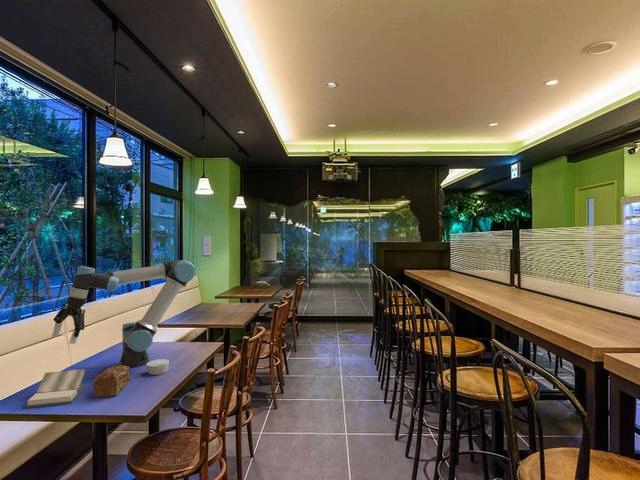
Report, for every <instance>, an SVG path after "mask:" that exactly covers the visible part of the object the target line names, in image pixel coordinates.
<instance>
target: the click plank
mask: <svg viewBox="0 0 640 480" xmlns="http://www.w3.org/2000/svg"><path fill="white" fill-rule="evenodd" d="M85 373H86V372H85V369H74V370H73V369H71V370H60V371H49V372H48V371H47V372H45V373H44V375H43V377H42V379H41V382H40V384H39V386H38V388H37V390H36V393H45V392H55V391H65V390H75V389H77V392H78V391H79V388H80V385H82V381H83V380H84V377H85V375H86V374H85ZM36 393H35V394H36Z"/></svg>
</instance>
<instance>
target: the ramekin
mask: <svg viewBox="0 0 640 480" xmlns="http://www.w3.org/2000/svg"><path fill="white" fill-rule="evenodd" d="M169 365H170V360H169V359H166V358H163V359H162V358H161V359H158V358H157V359H154V360H153V359H152V360H149V362H148V363H147V364H145V367H146V371H147V373H148V374H149V375H151V376H157V375H158V376H159V375H163V374H165V373H167V372H168V370H169Z"/></svg>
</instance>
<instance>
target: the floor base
mask: <svg viewBox="0 0 640 480" xmlns="http://www.w3.org/2000/svg"><path fill="white" fill-rule="evenodd" d="M87 387H88V384H87V383H86V384H81V385H80V388H79V391H78V392H77V389H75V390H65V391H55V392H45V393H34V395H32V396H31V397H30V398H29V399H28V400H27V404H26V406H25V408H26V409H31V408H38V407H49V406H58V405H68V404H73V403H74V402H75V400H76V399H77V398H78V397H79V396H80V395H81V394H82V393H83V391H84V390H86V388H87Z"/></svg>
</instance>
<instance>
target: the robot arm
mask: <svg viewBox="0 0 640 480" xmlns="http://www.w3.org/2000/svg"><path fill="white" fill-rule="evenodd" d="M74 275H75V276H74V278H73V279H74V280H73V281H72V285H71V289H70V292H69V296H68V297H67V300H66V303H63V304H62V306H61V308H60V309H59V311H58V312H57V314H56V315H55V316H54V318H53V321H54V323H55V325H54V327H53V330H52V331H53V332H52V334H51V337H52V338H57V337H59V334H60V331H61V329H62V326H63V322H64V321H65V320H66V319H67V318H68V317H69V316H70V317H71V318H72V319H73V325H74V329H73V330H72V333H71V337H70V339H69V343H68V344H76V343H77V340H78V337H79V335H80V332H81V331H83V330H85V314H86V309H82V307H83V306H85V303H86V299H87V297H88V294H89V292H90V288H94V289H99V290H104V291H107V292H109V291H110V292H115V291H116V290H117V289H118V287H119V285H125V284H126V285H127V284H133V283H138V282H145V281H153V280H157V279H159V280H160V279H162V280H166V281H165V283H164V285H163V286H162V288H161V290H159V292H158V294H157V295H156V297H155V298H154V300H153V301H152V303H151V304H150V306H149V307H148V309H147V310H146V312H145V314H144V315H143V317H142V318H141V319H140V320H137V321H135V322H127V323H124V324H122V328H121V331H122V334H121V335H122V352H121V355H120V359H119V364H118V365H124V366H129V367H130V368H135V367H141V366H144V365H146V364H147V363H148V362H150V357H149V354H148V351H147V350H148V349H149V348H150V347H151V346H152V344H153V338H154V337H155V335H156V333H157V330H158V329H157V326H158V325H159V323H160V322H161V320H162V318H163V317H164V315H165V314H166V312H167V311H168V309H169V308H170V306H171V304H172V302H173V301H174V300H175V298H176V296H177V295H178V293H179V292H180V290H181V289H183V288H186V286H187V284H188V283H189V282H190V281H192V280H193V279H194V278H195V276H196V267H195V265H194V264H193V263H192V262H191V261H188V260H185V259H183V260H181V259H176V260H171V261H167V262H162V263H160V264H159V265H152V266H145V267H139V268H131V269H125V270H124V269H123V270H115V271H110V272H100V273H98V272H96V269H95V268H93V267H89V266H84V265H80V266H78V268H77V270H76V273H75V274H74Z"/></svg>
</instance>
